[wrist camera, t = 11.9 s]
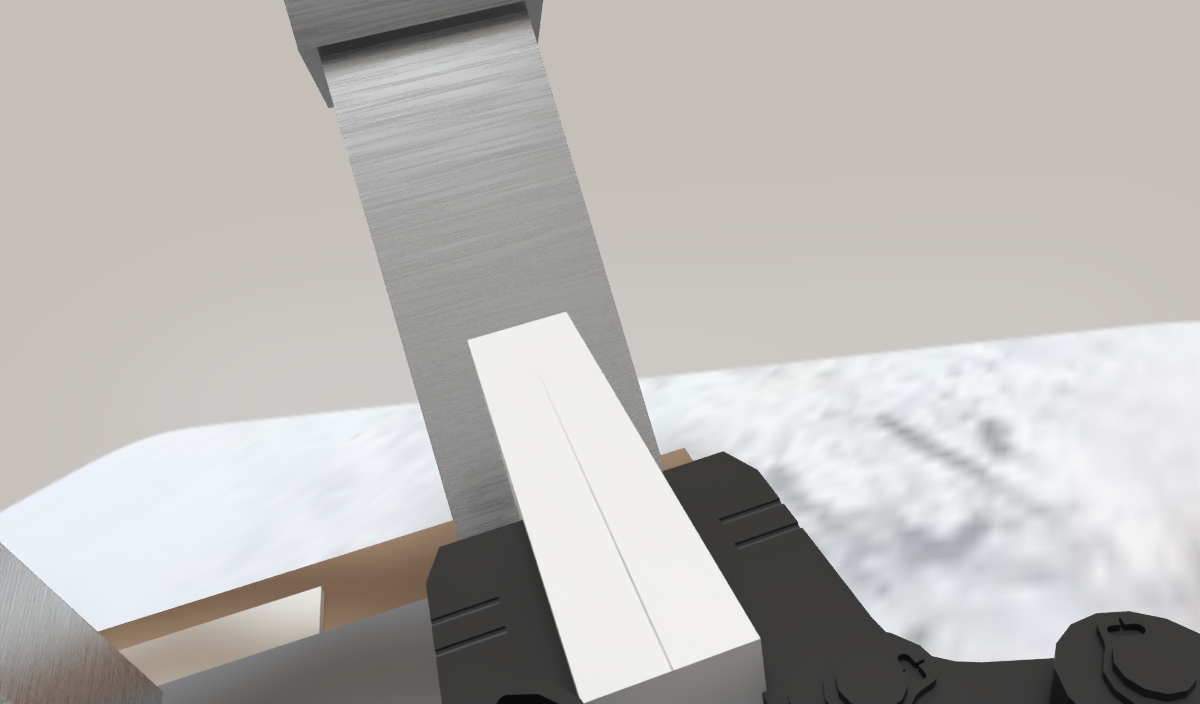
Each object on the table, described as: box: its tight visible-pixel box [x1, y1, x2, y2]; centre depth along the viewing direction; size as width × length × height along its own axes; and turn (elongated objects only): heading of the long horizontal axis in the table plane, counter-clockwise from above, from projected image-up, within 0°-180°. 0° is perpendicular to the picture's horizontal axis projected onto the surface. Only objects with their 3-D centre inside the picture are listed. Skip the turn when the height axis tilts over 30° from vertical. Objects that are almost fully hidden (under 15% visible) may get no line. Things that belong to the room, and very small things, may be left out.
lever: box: [284, 0, 665, 540], centre depth 17 cm, size 3×5×14 cm
